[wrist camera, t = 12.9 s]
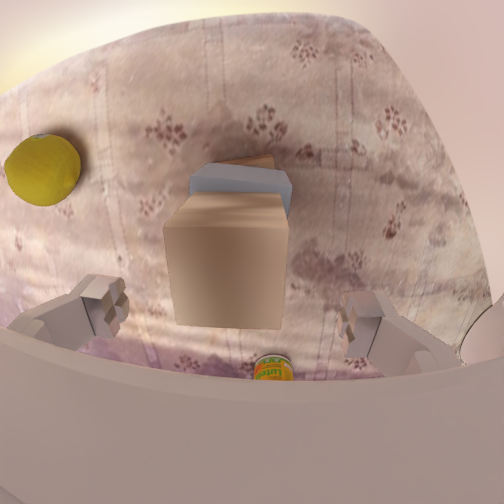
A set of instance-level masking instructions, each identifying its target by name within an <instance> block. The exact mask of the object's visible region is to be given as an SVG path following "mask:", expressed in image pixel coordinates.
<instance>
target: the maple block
mask: <svg viewBox="0 0 504 504" xmlns="http://www.w3.org/2000/svg"><path fill="white" fill-rule="evenodd" d="M163 233H164V242H165V250H166V258H167V266H168V274H169V281H170V288H171V294H172V301H173V307H174V313H175V319H176V324H177V325H185V326H199V327H216V328H237V329H272V330H281V326H282V315H283V304H284V292H285V280H286V268H287V254H288V240H289V226H288V222H287V218H286V214H285V210H284V206H283V202H282V199H281V195H280V193H272V192H194V193H193V194H192V195H191V196H190V197H189V198H188V199H187V201H186V202H185V203H184V204H183V205H182V206H181V207H180V208H179V209H178V210H177V211H176V212H175V214H174V215H173V216H172V217H171V218H170V219H169V220H168V221H167V222H166V224H165V225H164V226H163Z"/></svg>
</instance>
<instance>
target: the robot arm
mask: <svg viewBox="0 0 504 504" xmlns="http://www.w3.org/2000/svg"><path fill="white" fill-rule="evenodd" d="M125 288H126V287H125V283H124V280H123V279H122V278H121V277H113V276H104V275H97V274H88V275H87V276H86V277H85V278H84V279H83V280H82V281H81V282H80V283H79V284H78V285H77V286H76V287H75V288H74V289H73V290H72V291H71V292H70V293H69V294H64V295H62V296H60V297H57V298H55V299H53V300H50V301H48V302H46V303H43V304H41V305H39V306H37V307H34V308H32V309H30V310H28V311H25V312H23V313H21V314H20V315H19V316H18V317H17V318H16V319H15V320H14V321H13V322H12V323H11V324H10V325H9V326H8V327H7V328H4V327H2V326H0V504H504V294H503V295H502V296H501V298H500V299H499V300H498V301H497V302H496V303H495V304H494V305H493V306H492V307H490V308H489V309H488V310H487V311H486V312H485V313H483V314H482V316H481V317H480V318H479V319H478V320H477V321H476V322H475V323H474V325H473V326H472V327H471V329H470V330H469V332H468V334H467V335H466V337H465V339H464V341H463V343H462V346H461V350H460V357H461V359H462V360H463V361H464V362H465V363H466V365H464V366H462V365H461V364H460V362H459V360H458V358H457V357H456V355H455V353H454V351H453V350H452V348H451V346H449V345H447V344H446V343H444V342H443V341H441V340H440V339H438V338H436V337H435V336H433V335H432V334H430V333H429V332H427V331H425V330H424V329H422V328H421V327H419V326H417V325H416V324H414V323H413V322H411V321H409V320H408V319H406V318H405V317H403V316H399V315H398V313H397V311H396V310H395V308H394V306H393V304H392V302H391V301H390V299H389V297H388V295H387V294H386V292H385V291H345V292H344V295H343V298H342V303H343V306H344V307H343V308H342V309H341V310H340V311H339V316H338V325H337V327H338V333H339V336H340V337H341V338H342V339H343V341H342V344H341V345H342V349H343V353H344V356H345V358H362V357H367V359H368V360H369V361H370V362H371V363H372V364H373V365H374V366H375V367H376V368H377V369H378V370H379V371H380V372H381V373H382V374H383V375H384V376H385V377H382V378H371V379H357V380H336V381H274V380H253V379H238V378H225V377H214V376H205V375H196V374H188V373H180V372H173V371H167V370H161V369H155V368H149V367H143V366H138V365H133V364H128V363H123V362H118V361H114V360H109V359H105V358H100V357H96V356H92V355H88V354H84V353H81V352H77V351H76V350H78V349H79V348H80V347H82V346H83V345H85V344H86V343H88V342H89V341H90V340H92V339H93V338H95V336H97V337H103V338H109V339H114V338H115V336H116V334H117V333H118V331H119V330H120V325H119V324H120V323H122V322H123V321H125V320H126V318H127V316H128V313H129V300H128V297H127V296H126V295H125V293H124V290H125Z"/></svg>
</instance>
